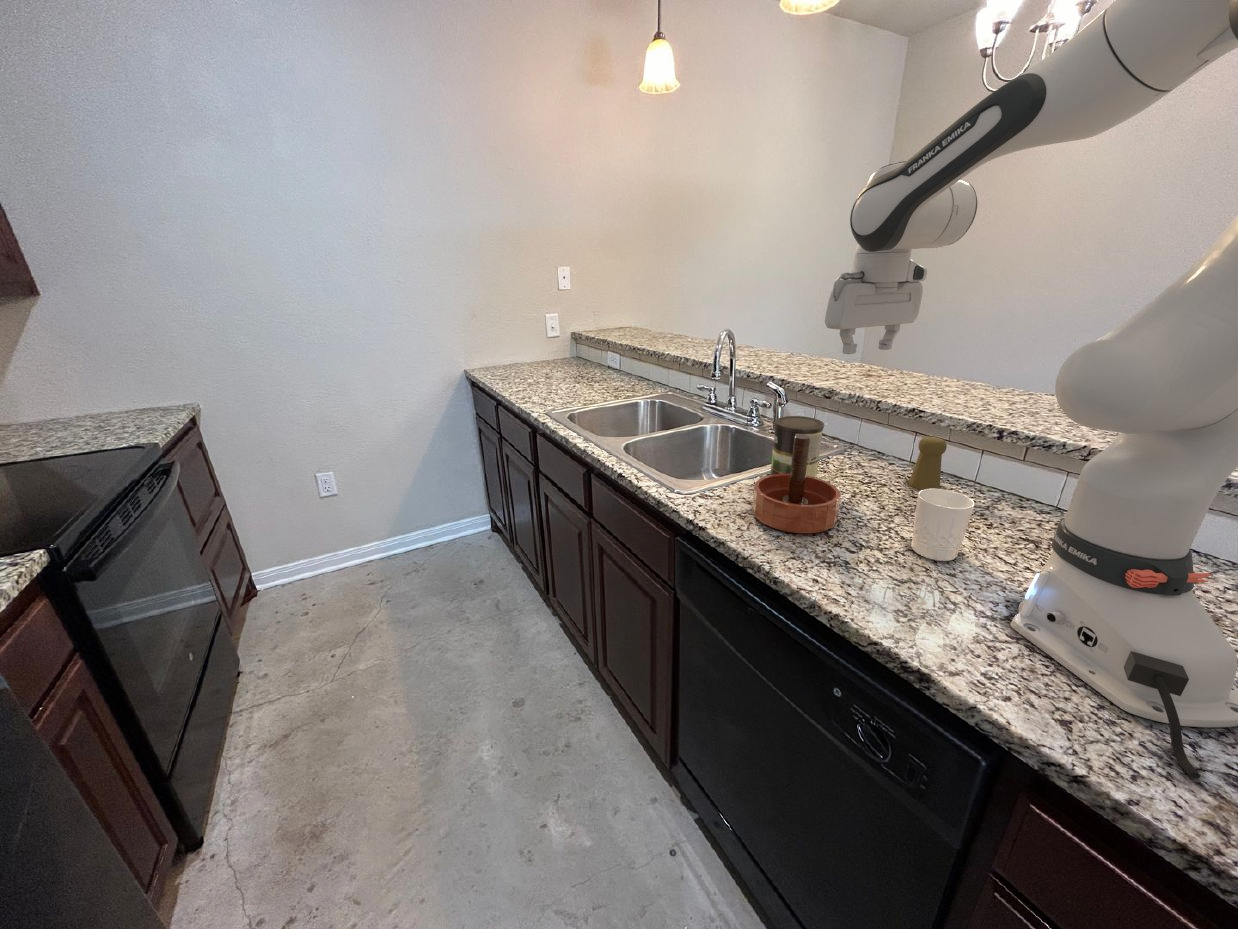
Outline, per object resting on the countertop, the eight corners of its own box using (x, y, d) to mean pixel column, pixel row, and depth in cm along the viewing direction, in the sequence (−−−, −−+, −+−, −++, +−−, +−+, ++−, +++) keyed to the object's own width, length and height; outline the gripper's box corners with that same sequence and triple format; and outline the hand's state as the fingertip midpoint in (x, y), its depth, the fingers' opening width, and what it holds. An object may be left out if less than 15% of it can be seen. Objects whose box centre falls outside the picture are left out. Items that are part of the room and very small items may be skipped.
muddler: (809, 519, 96) (820, 440, 90) (784, 519, 96) (793, 440, 90) (802, 508, 100) (811, 432, 94) (778, 508, 100) (785, 432, 95)
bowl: (849, 536, 91) (853, 506, 88) (762, 536, 91) (765, 506, 89) (820, 499, 105) (823, 473, 103) (745, 499, 106) (747, 473, 104)
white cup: (950, 569, 80) (964, 513, 76) (899, 550, 86) (910, 497, 82) (967, 552, 85) (982, 498, 81) (918, 535, 90) (929, 484, 87)
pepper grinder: (931, 480, 113) (941, 434, 109) (945, 491, 108) (956, 442, 104) (903, 479, 114) (912, 433, 110) (915, 490, 108) (925, 442, 104)
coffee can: (765, 485, 113) (771, 425, 107) (773, 469, 121) (779, 413, 116) (813, 492, 108) (821, 431, 103) (818, 476, 117) (826, 418, 112)
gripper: (852, 272, 80) (840, 358, 85) (934, 269, 88) (918, 349, 93) (821, 272, 86) (812, 354, 91) (901, 270, 94) (889, 345, 99)
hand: (867, 351), depth 92 cm, fingers open, 8 cm apart
